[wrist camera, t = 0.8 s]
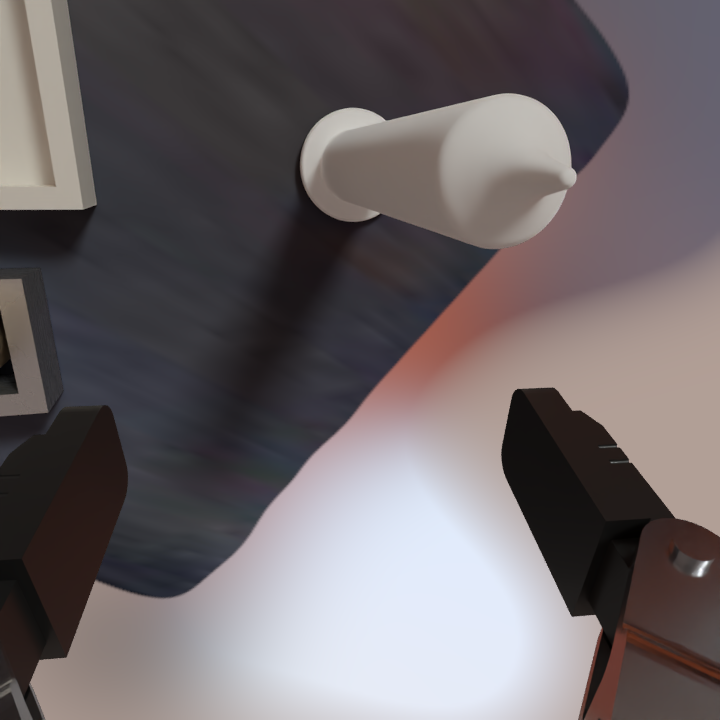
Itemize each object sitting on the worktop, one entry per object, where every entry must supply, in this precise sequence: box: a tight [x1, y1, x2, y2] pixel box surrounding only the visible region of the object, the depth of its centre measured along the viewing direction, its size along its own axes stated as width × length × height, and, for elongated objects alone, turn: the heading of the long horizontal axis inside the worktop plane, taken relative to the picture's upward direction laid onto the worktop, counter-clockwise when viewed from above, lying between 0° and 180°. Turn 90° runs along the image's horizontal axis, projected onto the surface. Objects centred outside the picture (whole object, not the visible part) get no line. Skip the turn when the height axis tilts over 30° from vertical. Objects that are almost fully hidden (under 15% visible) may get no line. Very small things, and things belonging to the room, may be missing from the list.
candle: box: [300, 94, 577, 249], centre depth 25 cm, size 7×7×25 cm
